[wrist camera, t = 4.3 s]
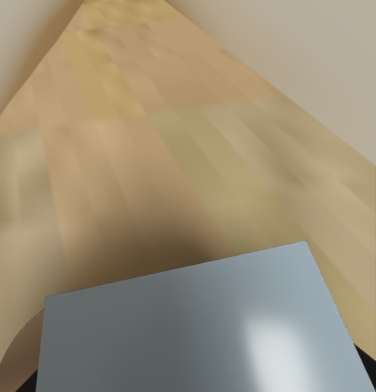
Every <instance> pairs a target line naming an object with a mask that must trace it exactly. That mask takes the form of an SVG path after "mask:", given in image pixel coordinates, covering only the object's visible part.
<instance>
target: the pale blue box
mask: <svg viewBox="0 0 376 392" xmlns="http://www.w3.org/2000/svg"><path fill="white" fill-rule="evenodd" d="M36 392H376V391H375V389H374V387H373V385H372V383H371V381H370V378H369V376H368V374H367V372H366V370H365V368H364V365H363V363H362V361H361V359H360V357H359V355H358V352H357V350H356V348H355V346H354V344H353V342H352V339H351V337H350V335H349V333H348V331H347V329H346V326H345V324H344V322H343V320H342V318H341V316H340V313H339V311H338V309H337V307H336V305H335V303H334V301H333V298H332V296H331V294H330V292H329V290H328V288H327V285H326V283H325V281H324V279H323V277H322V275H321V272H320V270H319V268H318V266H317V264H316V262H315V259H314V257H313V255H312V253H311V251H310V249H309V246H308V244H307V242H306V241H302V242H298V243H293V244H288V245H284V246H279V247H274V248H270V249H265V250H261V251H256V252H251V253H247V254H242V255H238V256H233V257H228V258H224V259H219V260H215V261H210V262H205V263H201V264H196V265H192V266H187V267H182V268H178V269H173V270H169V271H164V272H159V273H155V274H150V275H145V276H141V277H136V278H132V279H127V280H122V281H118V282H113V283H109V284H104V285H99V286H95V287H90V288H86V289H81V290H76V291H72V292H67V293H63V294H58V295H53V296H49V297H46V298H45V308H44V317H43V327H42V336H41V346H40V355H39V365H38V374H37V384H36Z"/></svg>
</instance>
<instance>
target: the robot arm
mask: <svg viewBox="0 0 376 392" xmlns="http://www.w3.org/2000/svg"><path fill="white" fill-rule="evenodd" d="M353 344H354V343H353ZM354 346H355V348H356V350H357V352H358V355H359V357H360V359H361V361H362V363H363V365H364V368H365V370H366V372H367V374H368V376H369V378H370V381H371V383H372V385H373V387H374V389H375V391H376V361H375V360H374V359H373V358H371V357H370V356H369V355H368V354H366V353H365V352H364V351H363V350H361V349H360V348H359V347H358V346H356V345H355V344H354ZM37 374H38V369H37V370H36V371H35V372H34V373H33V374H32V375H31V376H30V377H29V378H28V379H27V380H26V381H25V382H24V383H23V384H22V385H21V386H20V387H19V388H18V389H17V390H16V391H15V392H36V384H37Z"/></svg>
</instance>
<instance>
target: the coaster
mask: <svg viewBox="0 0 376 392" xmlns="http://www.w3.org/2000/svg"><path fill="white" fill-rule="evenodd" d="M43 317H44V311H42V312H41V313H39V314H38V315H36V316H35V317H34V318H33V319H32V320H30V321H29V322H28V323H27V324H26V325H25V326H24V327H23V329H22V330H21V331H20V332H19V333H18V335H17V336H16V337H15V338H14V340H13V341H12V343H11V345H10V346H9V348H8V349H7V351H6V353H5V355H4V357H3V359H2V361H1V364H0V392H15V391H16V390H17V389H18V388H19V387H20V386H21V385H22V384H23V383H24V382H25V381H26V380H27V379H28V378H29V377H30V376H31V375H32V374H33V373H34V372H35V371H36V370H37V369H38V365H39V355H40V346H41V336H42V327H43Z"/></svg>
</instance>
